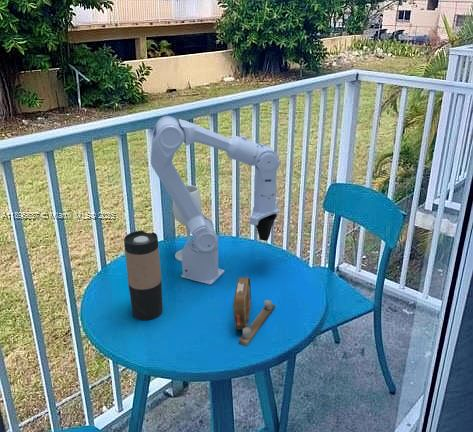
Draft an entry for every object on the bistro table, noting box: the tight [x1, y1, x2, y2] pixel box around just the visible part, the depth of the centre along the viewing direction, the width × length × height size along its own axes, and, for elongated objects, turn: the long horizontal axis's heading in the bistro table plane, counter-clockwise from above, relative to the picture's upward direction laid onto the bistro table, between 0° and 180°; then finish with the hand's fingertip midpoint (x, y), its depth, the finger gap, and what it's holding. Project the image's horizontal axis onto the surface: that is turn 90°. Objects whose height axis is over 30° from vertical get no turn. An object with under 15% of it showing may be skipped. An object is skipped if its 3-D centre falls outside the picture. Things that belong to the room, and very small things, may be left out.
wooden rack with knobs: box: [238, 299, 276, 347], centre depth 110 cm, size 2×16×3 cm, turn 154°
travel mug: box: [123, 230, 163, 321], centre depth 111 cm, size 8×8×20 cm
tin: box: [233, 276, 252, 330], centre depth 111 cm, size 15×3×8 cm, turn 174°
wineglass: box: [172, 184, 203, 262], centre depth 137 cm, size 9×9×21 cm
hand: (264, 239), depth 130 cm, fingers closed
